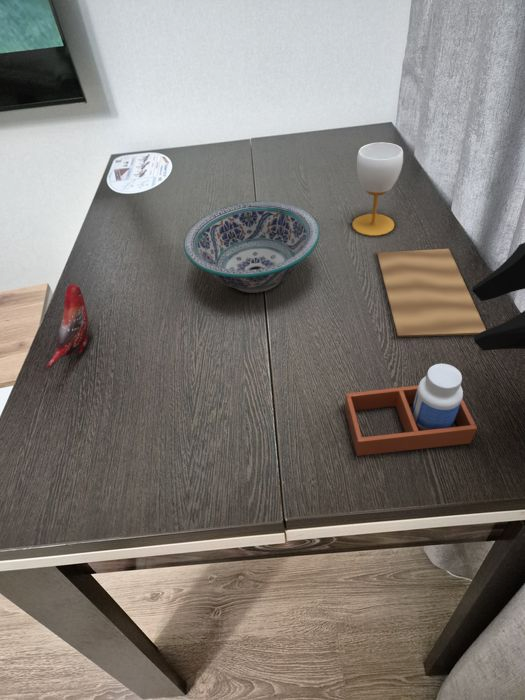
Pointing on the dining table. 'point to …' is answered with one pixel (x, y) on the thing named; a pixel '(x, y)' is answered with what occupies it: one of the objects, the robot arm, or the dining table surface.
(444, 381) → the pill bottle
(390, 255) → the mat
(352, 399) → the holder
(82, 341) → the decorative bird figurine
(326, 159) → the dining table surface
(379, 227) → the cup
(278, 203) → the bowl
